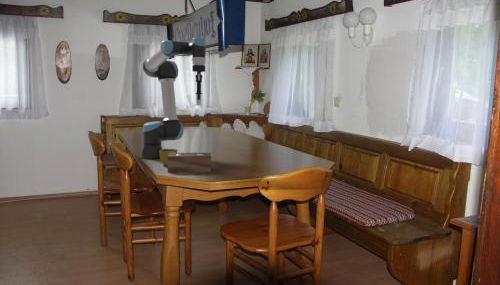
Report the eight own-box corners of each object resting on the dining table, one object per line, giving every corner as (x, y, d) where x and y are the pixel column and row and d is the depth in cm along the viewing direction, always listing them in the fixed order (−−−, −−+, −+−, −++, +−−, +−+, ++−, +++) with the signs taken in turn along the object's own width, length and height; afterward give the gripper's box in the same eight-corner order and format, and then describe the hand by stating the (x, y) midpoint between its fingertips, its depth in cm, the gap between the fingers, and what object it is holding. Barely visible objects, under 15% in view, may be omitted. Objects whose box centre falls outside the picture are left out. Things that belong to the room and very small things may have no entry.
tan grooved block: (169, 167, 243) (169, 152, 242) (210, 167, 246) (210, 152, 245) (167, 172, 231) (167, 156, 230) (211, 172, 234) (211, 156, 233)
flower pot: (158, 165, 249) (158, 150, 248) (163, 162, 258) (163, 148, 256) (173, 166, 248) (173, 151, 247) (177, 163, 256) (177, 149, 255)
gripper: (192, 65, 250) (192, 104, 253) (192, 64, 237) (192, 105, 240) (205, 65, 251) (204, 104, 254) (205, 64, 238) (205, 106, 241)
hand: (198, 105), depth 247 cm, fingers closed
